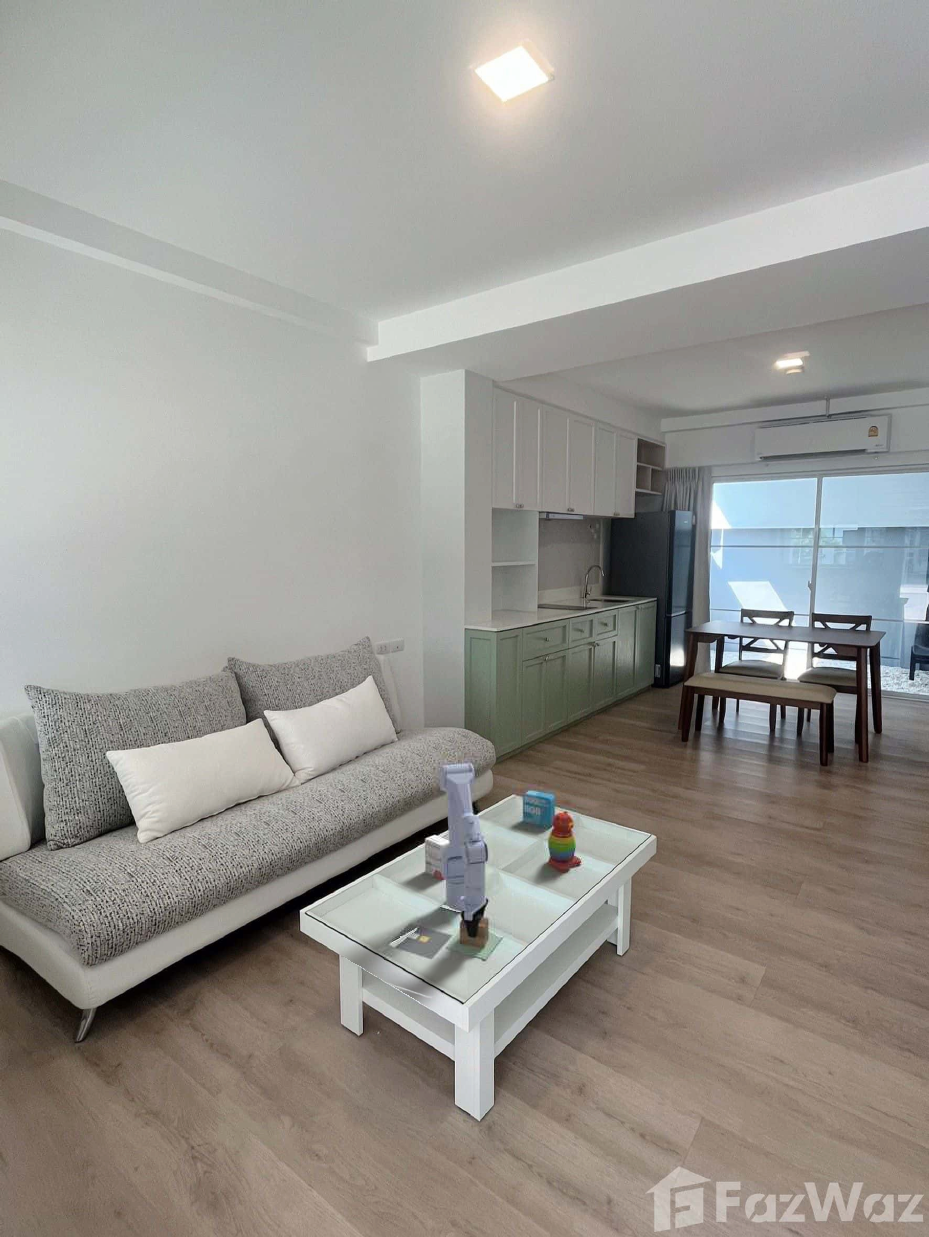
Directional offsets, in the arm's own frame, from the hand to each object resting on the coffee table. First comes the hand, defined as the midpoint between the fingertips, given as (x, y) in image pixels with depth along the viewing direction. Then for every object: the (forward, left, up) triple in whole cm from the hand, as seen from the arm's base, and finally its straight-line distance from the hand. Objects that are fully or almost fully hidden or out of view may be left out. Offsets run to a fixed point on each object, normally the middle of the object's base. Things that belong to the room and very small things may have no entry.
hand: (475, 930), depth 183 cm
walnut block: (0, 0, -3) cm, 3 cm away
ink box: (-30, -28, -4) cm, 41 cm away
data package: (-83, -12, -4) cm, 84 cm away
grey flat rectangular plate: (+6, -14, -3) cm, 16 cm away
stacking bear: (-55, +7, -4) cm, 56 cm away
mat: (0, 0, -3) cm, 3 cm away
